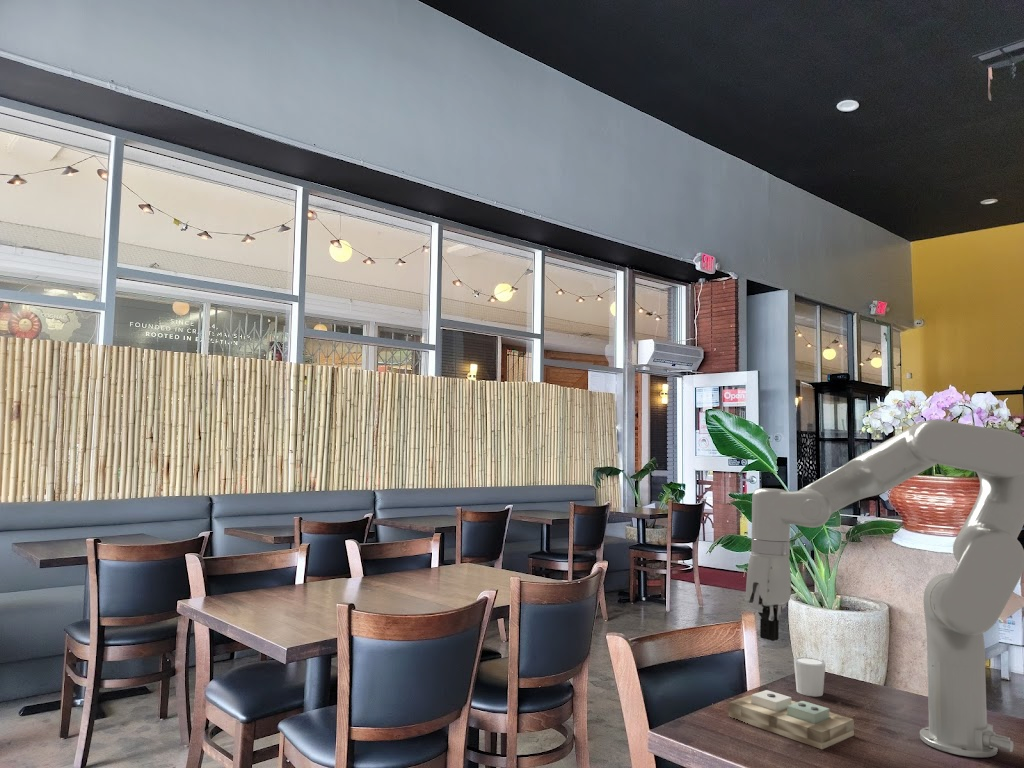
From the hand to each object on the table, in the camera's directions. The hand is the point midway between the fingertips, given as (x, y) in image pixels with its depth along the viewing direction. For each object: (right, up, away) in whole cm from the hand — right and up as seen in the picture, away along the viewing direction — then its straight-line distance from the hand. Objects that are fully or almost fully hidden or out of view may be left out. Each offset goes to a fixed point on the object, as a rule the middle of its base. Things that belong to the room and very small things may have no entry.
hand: (769, 638), depth 151 cm
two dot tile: (+5, -13, -8) cm, 16 cm away
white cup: (+15, -19, +17) cm, 29 cm away
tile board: (+2, -16, -5) cm, 17 cm away
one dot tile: (0, -13, -1) cm, 14 cm away
